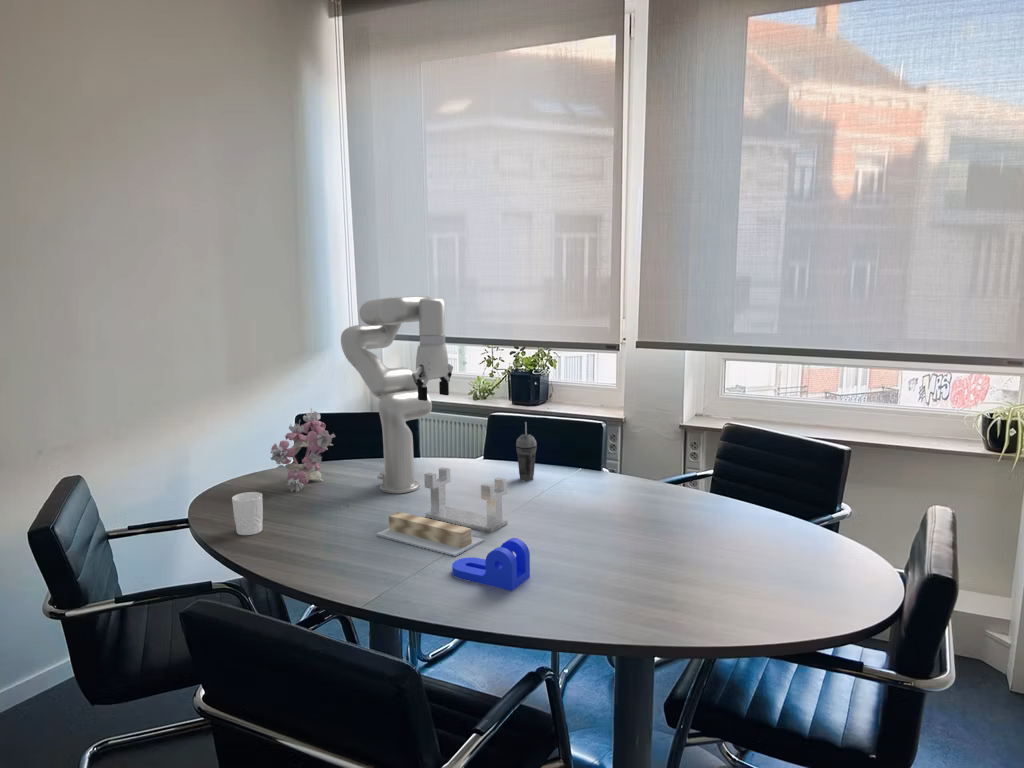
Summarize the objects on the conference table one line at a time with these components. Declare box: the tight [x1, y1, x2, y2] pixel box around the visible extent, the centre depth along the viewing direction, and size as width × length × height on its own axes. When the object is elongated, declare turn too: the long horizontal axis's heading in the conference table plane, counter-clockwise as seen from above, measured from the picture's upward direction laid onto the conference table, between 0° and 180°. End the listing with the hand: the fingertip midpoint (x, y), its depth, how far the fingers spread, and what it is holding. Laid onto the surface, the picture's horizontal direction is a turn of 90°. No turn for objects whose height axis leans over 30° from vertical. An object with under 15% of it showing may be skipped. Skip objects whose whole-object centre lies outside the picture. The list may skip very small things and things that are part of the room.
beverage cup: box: [515, 421, 538, 482], centre depth 244 cm, size 7×7×20 cm
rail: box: [388, 511, 472, 548], centre depth 193 cm, size 25×4×4 cm, turn 57°
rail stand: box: [423, 467, 508, 533], centre depth 205 cm, size 23×8×13 cm, turn 56°
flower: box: [270, 407, 336, 493], centre depth 241 cm, size 20×22×25 cm
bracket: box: [451, 537, 531, 592], centre depth 169 cm, size 18×8×9 cm, turn 61°
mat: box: [376, 527, 485, 557], centre depth 193 cm, size 27×12×1 cm, turn 56°
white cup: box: [231, 491, 264, 536], centre depth 200 cm, size 8×8×10 cm
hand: (433, 397), depth 216 cm, fingers open, 9 cm apart
